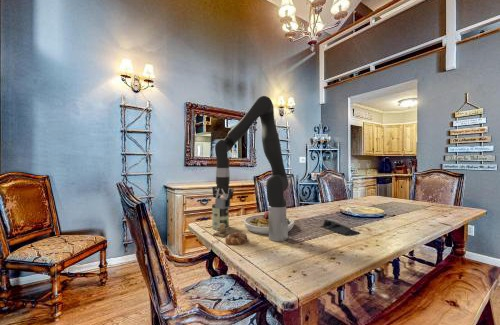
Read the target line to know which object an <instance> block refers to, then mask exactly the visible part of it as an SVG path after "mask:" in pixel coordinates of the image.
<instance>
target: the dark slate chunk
mask: <svg viewBox="0 0 500 325" xmlns="http://www.w3.org/2000/svg"><path fill="white" fill-rule="evenodd" d="M319 227H320V228H323V229H325V230H328V231H330V232H333V233H336V234H339V235H343V236H353V235H354V236H356V235H360V234H361V232H359V231H357V230H355V229H351V227H348V226H347V225H343V224H341V223H338V222H335V221H333V220H328V219H324V221H323V224H322V225H320V226H319Z"/></svg>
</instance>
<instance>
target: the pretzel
mask: <svg viewBox="0 0 500 325" xmlns="http://www.w3.org/2000/svg"><path fill="white" fill-rule="evenodd" d="M247 241H248V236H247V234H245V233H241V232H234V233H233V232H232V233H231V234H229V235H228V236H226V237H225V244H226V245H228V246H229V245H230V246H231V245H233V246H238V245H244V244H245V243H247Z"/></svg>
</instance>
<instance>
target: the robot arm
mask: <svg viewBox="0 0 500 325" xmlns="http://www.w3.org/2000/svg"><path fill="white" fill-rule="evenodd" d="M249 108H250V109H249V110H248V111H247V112H246V113H245V115H244V116H243V117H242V118H241V119H240V120H239V121H238V122H237V123H236V124H235V125H234V126H233V127H232V128H231V129H230V130H229V131H228V133H227V135H226V136H225V138H224V139H219V140H217V141H216V143H215V145H214V151H215V157H216V170H215V184H216V186H213V187H212V197H213V198H214V199H216V198H221V196H222V195H223V197H224V198H225V199H226V200H225V207H229V200H230V201H231V200H232V199H233V198H234V197H233V196H234V191H235V190H234V188H232V187H230V186H229V185H230V184H231V183H230V173H231V172H230V158H229V157H228V152H230V150H232V149H233V147H234V146H235V144H236V143H237V142H238V141H240V139H242V137H244V136H245V134H246V133H247V132H248V131H249V129H250V128H251V126H252V125H253V124H254V122H255V121H256V120H257V119H258V118H259V120H260V123H261V142H262V148H263V149H262V150H263V153H264V156H265V157H266V159H267V161H268V163H269V166H270V168H271V173H272V175H271V176H269V177H268V179H267V181H266V200H267V202H268V211H269V235H268V240H270V241H272V242H282V243H283V242H285V241H286V240H288V239H289V231H288V220H286V217H287V201H286V199H285V198H284V197H285V196H284V192H285V191H286V190H287V189H288V188H289V180H288V175H287V172H286V168H285V164H284V160H283V159H284V158H283V153H282V147H281V143H280V142H281V141H280V136H279V133H278V129H277V126H276V122H275V113H274V112H275V111H274V110H275V109H274V104H273V102H272V99H271V98H270V97H269V96H266V95H262V96H260V97H258V98H257V99H256V101H255V102H253V105H251V107H249ZM229 208H230V207H229Z"/></svg>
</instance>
